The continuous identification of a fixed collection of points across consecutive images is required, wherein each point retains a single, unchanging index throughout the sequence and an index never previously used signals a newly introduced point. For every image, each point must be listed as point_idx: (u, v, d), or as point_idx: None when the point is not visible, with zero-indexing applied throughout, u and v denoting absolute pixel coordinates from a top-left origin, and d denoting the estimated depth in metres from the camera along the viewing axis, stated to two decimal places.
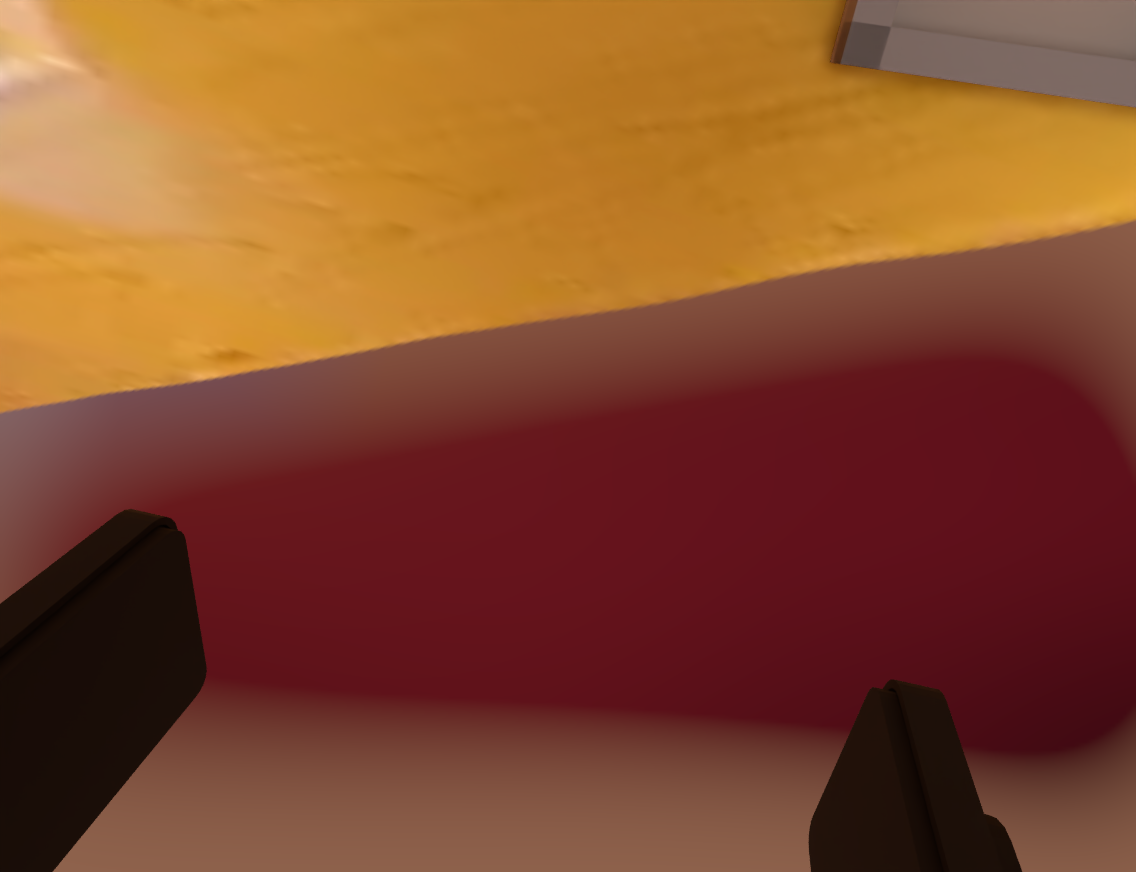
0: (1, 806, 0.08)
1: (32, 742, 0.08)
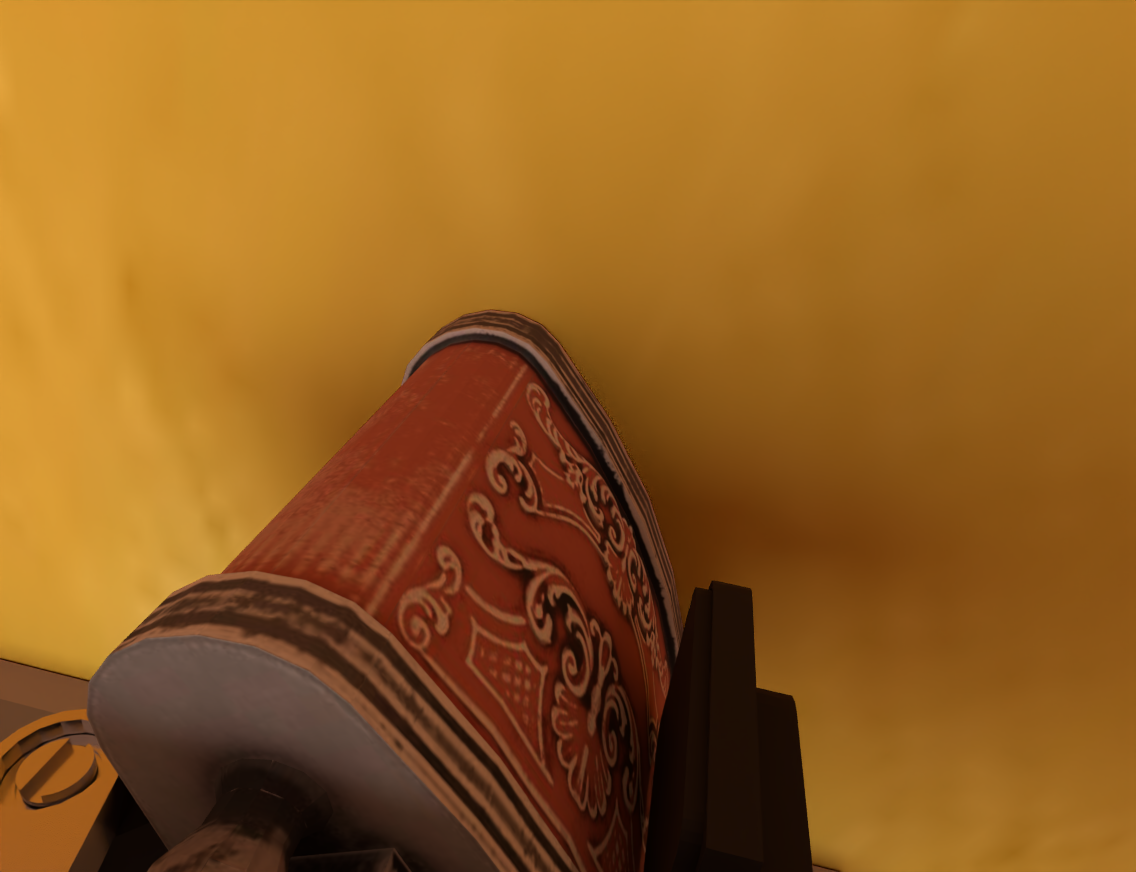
0: None
1: None
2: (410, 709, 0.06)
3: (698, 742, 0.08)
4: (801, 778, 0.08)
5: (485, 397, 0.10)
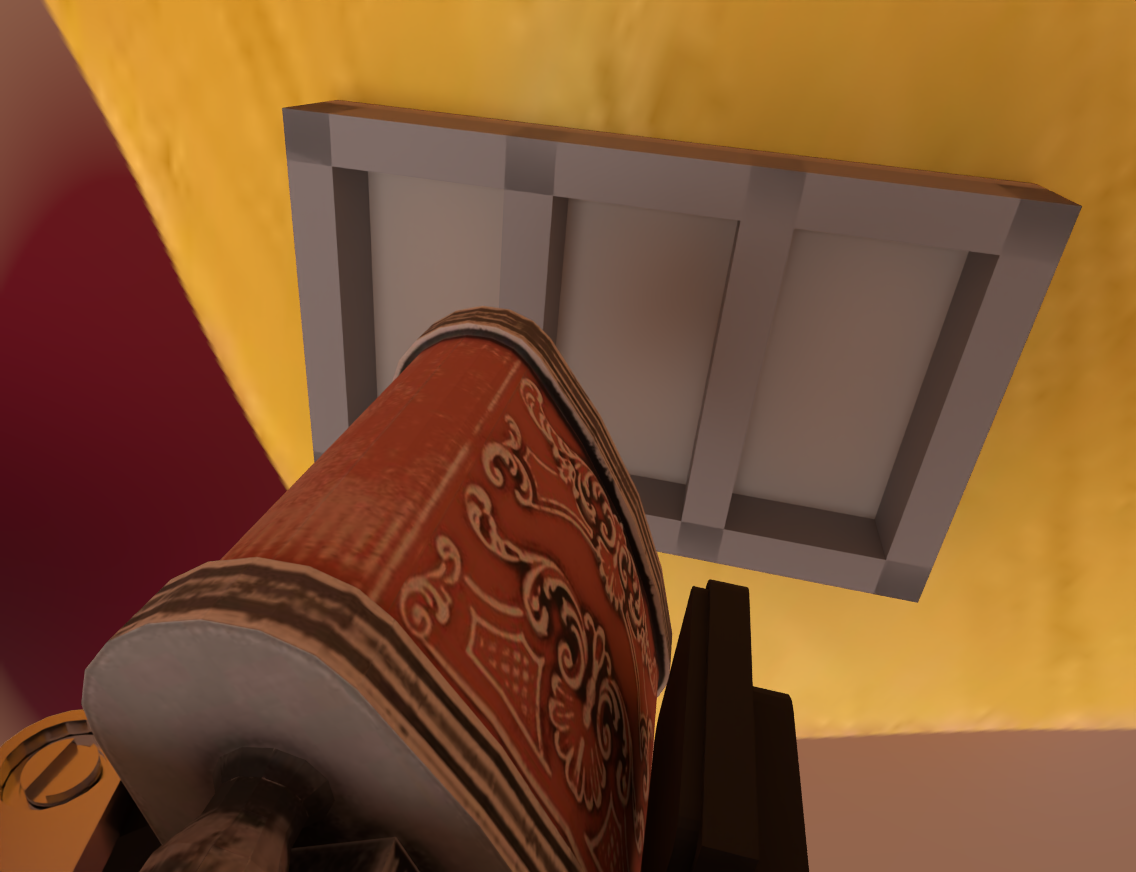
0: None
1: None
2: (415, 695, 0.06)
3: (694, 740, 0.08)
4: (797, 776, 0.08)
5: (480, 390, 0.10)
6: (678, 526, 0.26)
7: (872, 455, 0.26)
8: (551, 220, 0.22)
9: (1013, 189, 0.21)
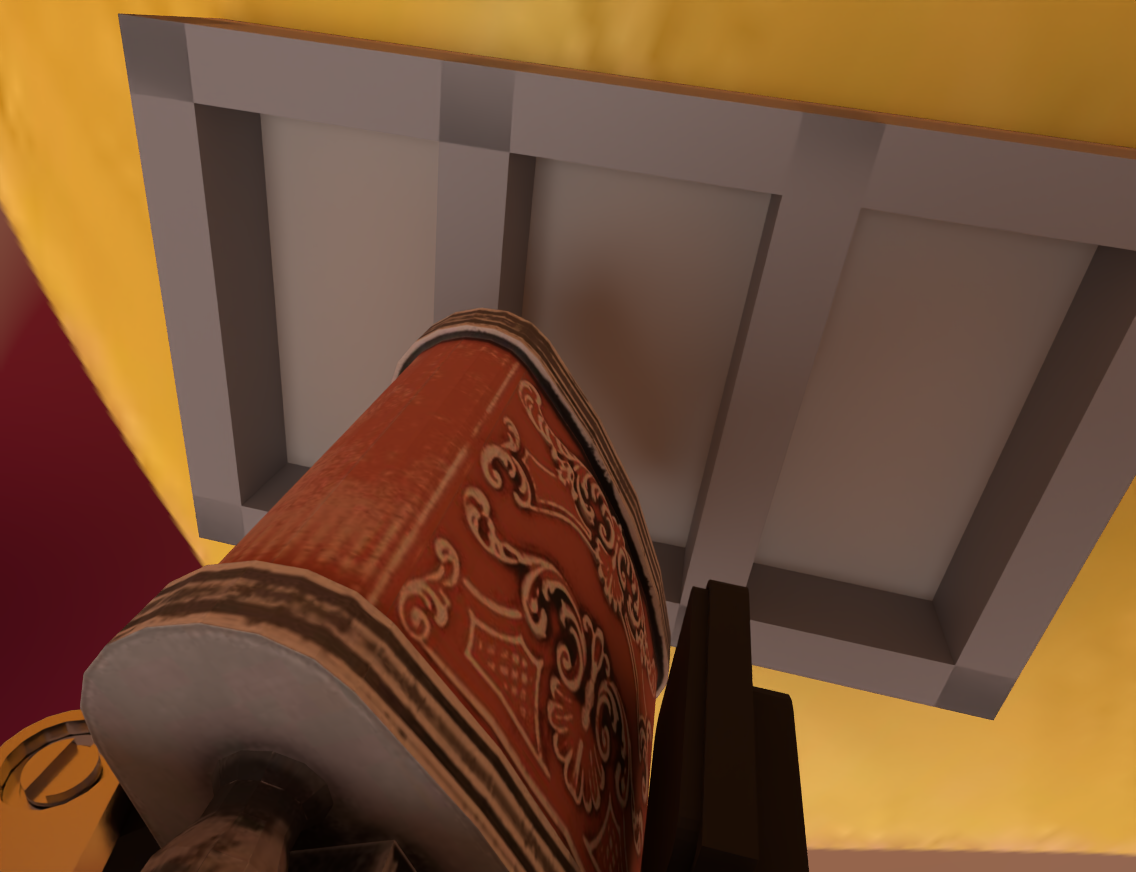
0: None
1: None
2: (413, 699, 0.06)
3: (694, 740, 0.08)
4: (797, 776, 0.08)
5: (480, 393, 0.10)
6: (675, 610, 0.20)
7: (935, 520, 0.20)
8: (507, 189, 0.15)
9: None
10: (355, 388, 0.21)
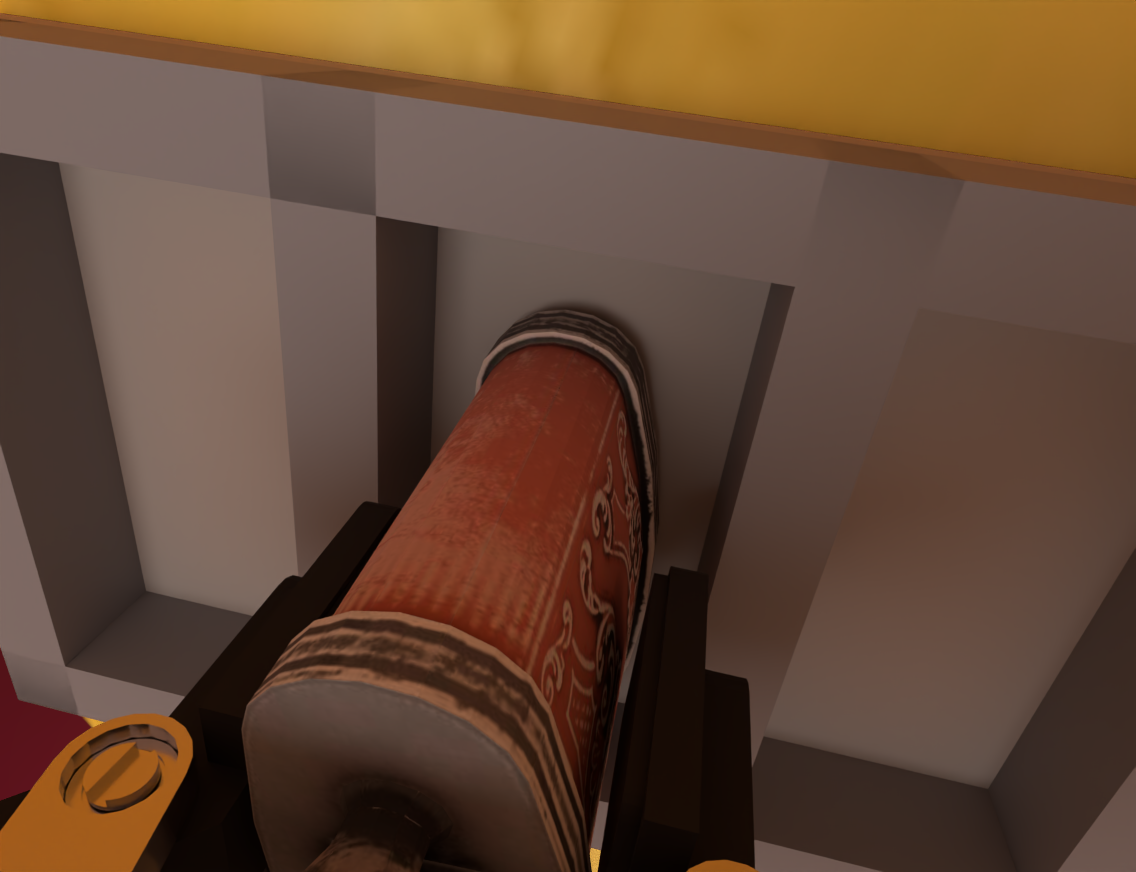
0: None
1: None
2: (552, 778, 0.06)
3: (644, 720, 0.08)
4: (749, 756, 0.08)
5: (594, 430, 0.10)
6: None
7: (997, 695, 0.15)
8: (378, 268, 0.10)
9: None
10: (220, 506, 0.16)
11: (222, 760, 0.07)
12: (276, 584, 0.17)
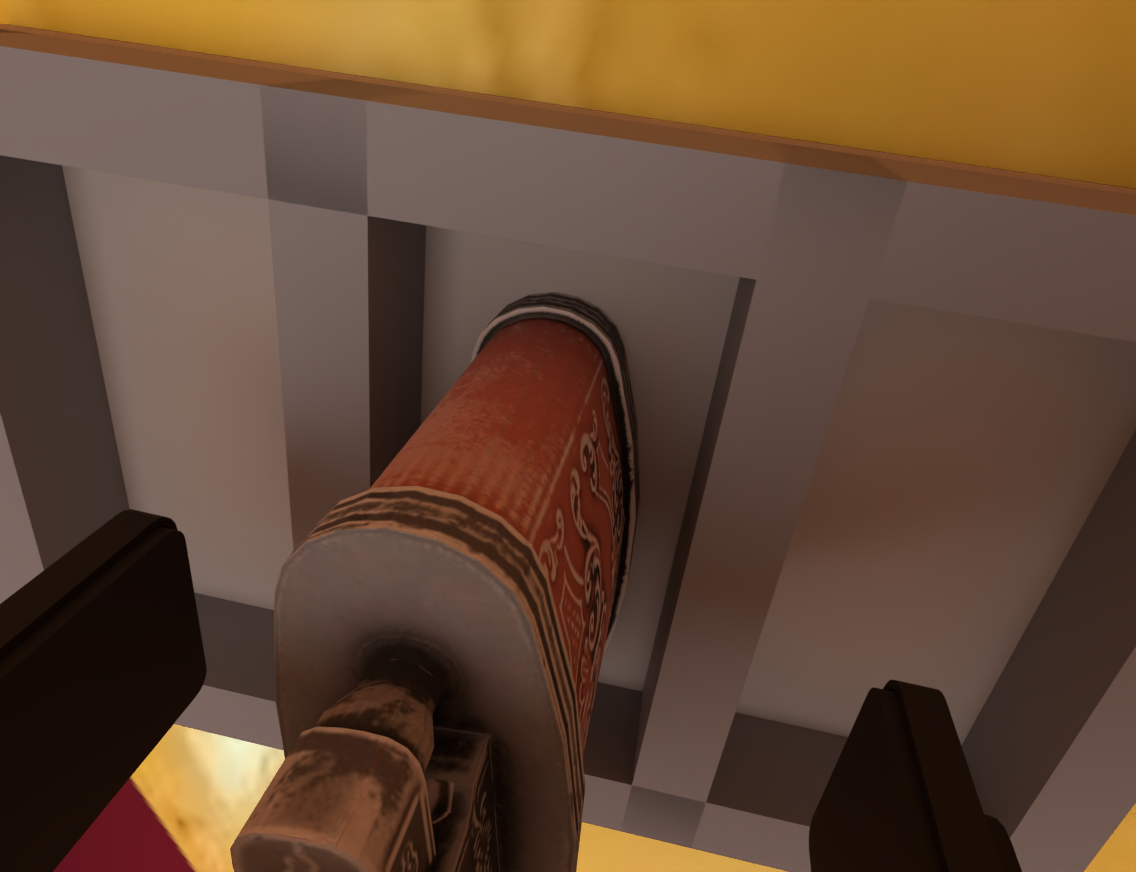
0: (1, 806, 0.08)
1: (32, 742, 0.08)
2: (549, 637, 0.07)
3: None
4: None
5: (581, 383, 0.11)
6: (627, 792, 0.15)
7: (959, 668, 0.15)
8: (369, 265, 0.11)
9: None
10: (217, 496, 0.17)
11: None
12: (271, 573, 0.17)
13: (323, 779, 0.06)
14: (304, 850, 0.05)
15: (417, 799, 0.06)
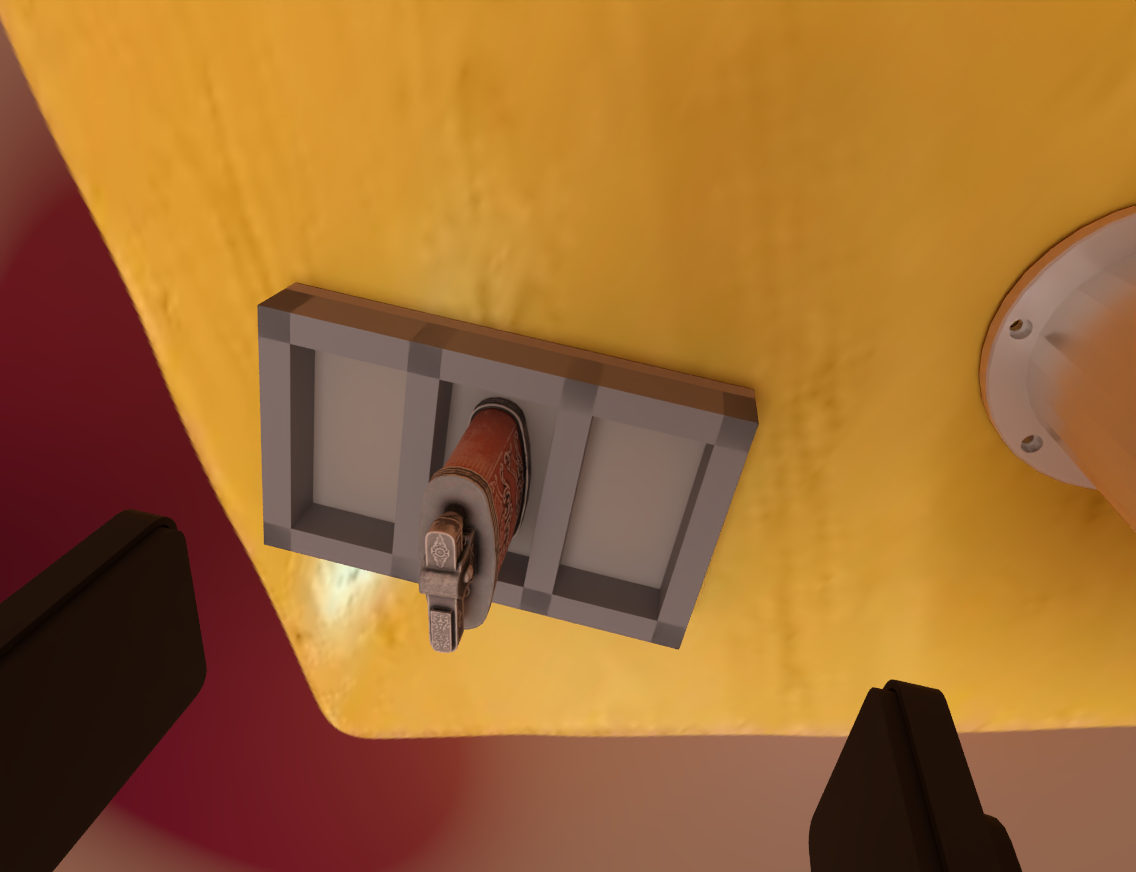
0: (1, 806, 0.08)
1: (32, 742, 0.08)
2: (491, 504, 0.30)
3: None
4: None
5: (506, 434, 0.34)
6: (521, 590, 0.38)
7: (656, 548, 0.38)
8: (438, 393, 0.33)
9: (729, 400, 0.33)
10: (355, 466, 0.39)
11: None
12: (374, 500, 0.40)
13: (443, 524, 0.28)
14: (441, 535, 0.28)
15: (460, 533, 0.29)
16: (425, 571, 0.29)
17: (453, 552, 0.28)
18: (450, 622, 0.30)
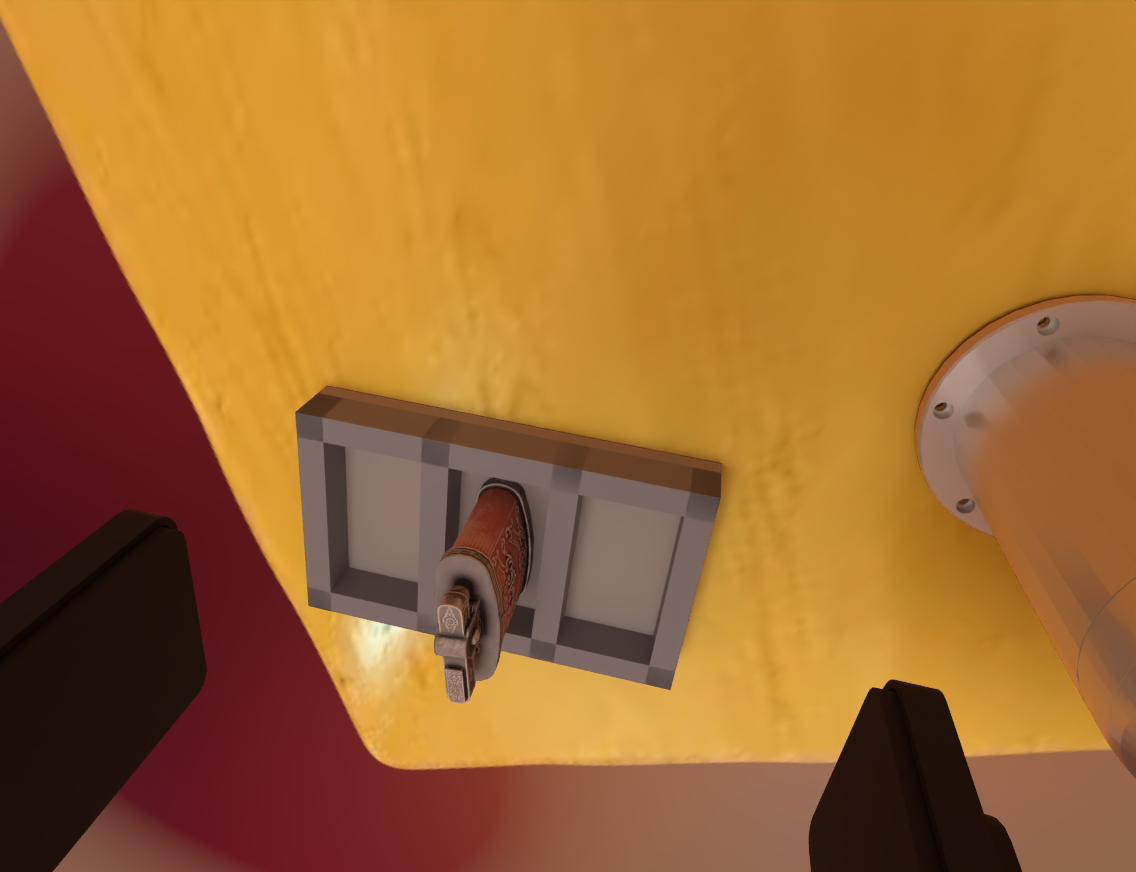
0: (1, 806, 0.08)
1: (32, 742, 0.08)
2: (492, 577, 0.36)
3: None
4: None
5: (507, 511, 0.39)
6: (529, 641, 0.44)
7: (647, 600, 0.44)
8: (448, 479, 0.39)
9: (697, 476, 0.38)
10: (383, 536, 0.45)
11: None
12: (400, 564, 0.46)
13: (451, 598, 0.34)
14: (450, 607, 0.34)
15: (467, 604, 0.35)
16: (439, 637, 0.35)
17: (461, 621, 0.34)
18: (462, 678, 0.35)
